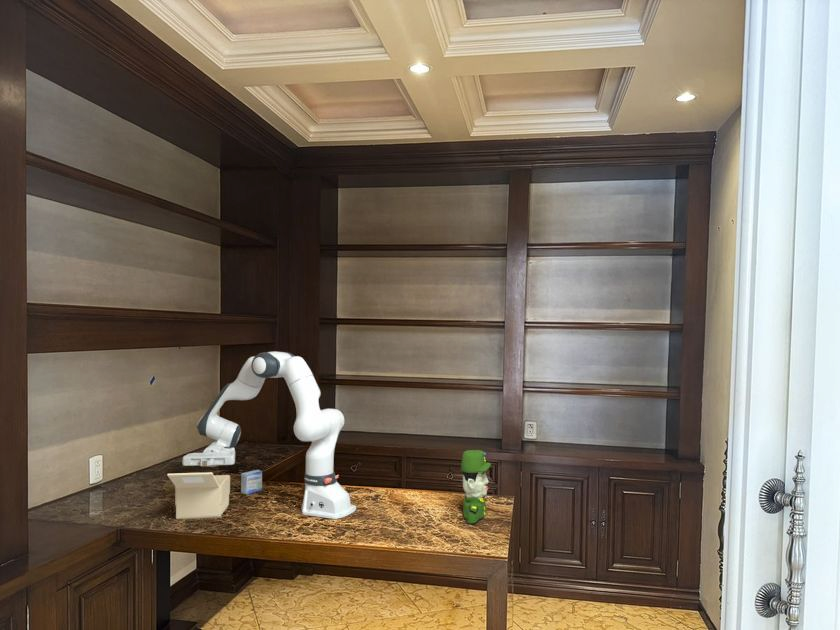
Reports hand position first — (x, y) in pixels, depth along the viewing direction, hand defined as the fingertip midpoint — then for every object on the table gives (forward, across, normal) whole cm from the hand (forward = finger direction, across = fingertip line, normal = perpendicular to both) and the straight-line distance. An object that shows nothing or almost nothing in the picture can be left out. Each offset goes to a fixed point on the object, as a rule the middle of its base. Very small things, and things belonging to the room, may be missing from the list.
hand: (204, 464), depth 208 cm
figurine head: (+16, +106, +18) cm, 109 cm away
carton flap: (+13, 0, +2) cm, 13 cm away
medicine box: (-22, +14, +18) cm, 32 cm away
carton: (+1, 0, +18) cm, 18 cm away
